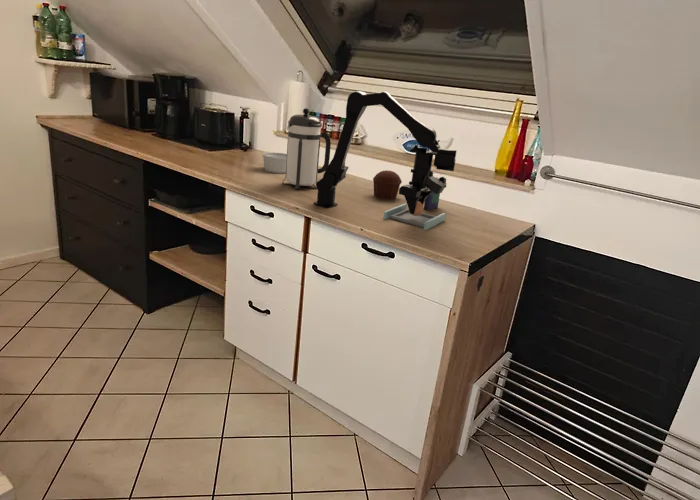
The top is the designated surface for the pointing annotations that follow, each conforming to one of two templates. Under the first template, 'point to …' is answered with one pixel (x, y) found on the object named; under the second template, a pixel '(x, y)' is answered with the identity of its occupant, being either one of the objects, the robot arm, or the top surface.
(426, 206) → the flask
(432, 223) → the acrylic walls
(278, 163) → the ramekin
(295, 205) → the top surface
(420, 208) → the ball
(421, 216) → the dish
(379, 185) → the muffin
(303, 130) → the coffee press
